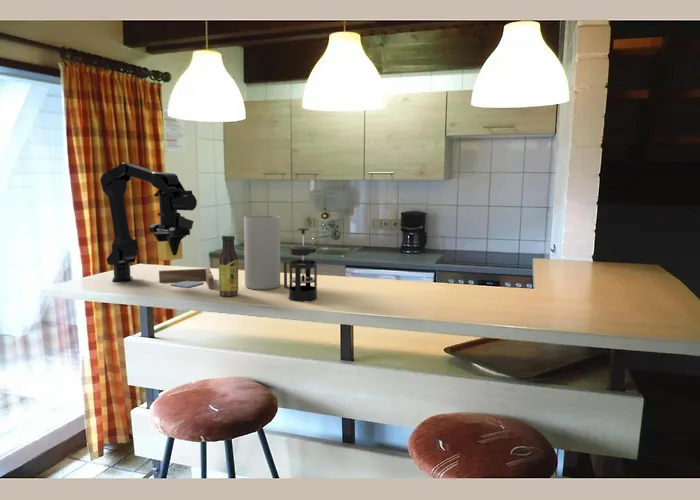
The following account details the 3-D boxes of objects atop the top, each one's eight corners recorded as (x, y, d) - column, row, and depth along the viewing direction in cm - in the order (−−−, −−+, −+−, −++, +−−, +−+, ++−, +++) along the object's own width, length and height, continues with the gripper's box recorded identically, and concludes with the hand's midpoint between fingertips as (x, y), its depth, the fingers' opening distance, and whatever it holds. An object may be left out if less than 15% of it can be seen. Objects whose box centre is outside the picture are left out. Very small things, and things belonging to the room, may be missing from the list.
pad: (170, 285, 184) (170, 284, 183) (186, 281, 191) (186, 280, 191) (187, 288, 180) (187, 286, 180) (203, 283, 187) (203, 282, 187)
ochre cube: (158, 258, 181) (157, 241, 180) (174, 256, 185) (173, 240, 184) (166, 260, 177) (165, 243, 176) (182, 258, 181) (181, 241, 180)
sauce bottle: (233, 297, 167) (232, 237, 164) (215, 296, 168) (214, 236, 165) (241, 293, 174) (240, 234, 171) (224, 292, 175) (223, 234, 172)
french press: (323, 296, 171) (323, 227, 167) (313, 303, 162) (313, 230, 159) (290, 293, 174) (290, 225, 171) (279, 299, 165) (278, 228, 162)
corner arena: (159, 281, 191) (159, 270, 190) (209, 278, 197) (209, 268, 196) (158, 291, 174) (158, 280, 173) (213, 288, 180) (213, 277, 179)
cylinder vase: (274, 281, 193) (273, 215, 189) (284, 288, 182) (284, 217, 178) (241, 284, 188) (240, 215, 184) (250, 291, 176) (249, 218, 173)
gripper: (203, 210, 178) (204, 254, 180) (177, 207, 191) (178, 249, 193) (172, 211, 170) (175, 258, 172) (147, 208, 183) (150, 252, 185)
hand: (170, 254), depth 181 cm, fingers closed on ochre cube, 6 cm apart
